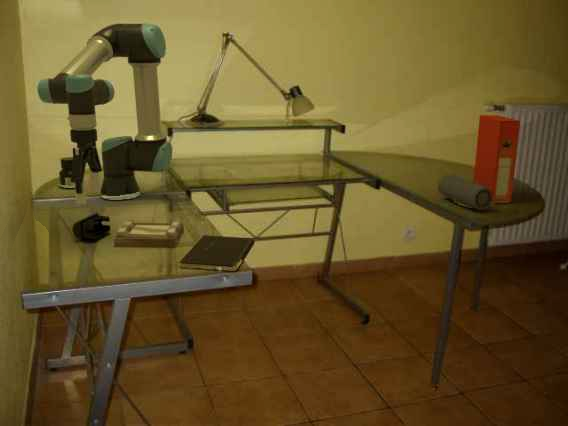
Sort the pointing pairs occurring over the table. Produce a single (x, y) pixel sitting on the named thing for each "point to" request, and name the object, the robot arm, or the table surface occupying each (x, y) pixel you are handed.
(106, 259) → the table surface
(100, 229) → the black notched block
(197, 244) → the hardcover book
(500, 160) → the file binder
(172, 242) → the display riser
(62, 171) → the ink bottle
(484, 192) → the bluetooth speaker
